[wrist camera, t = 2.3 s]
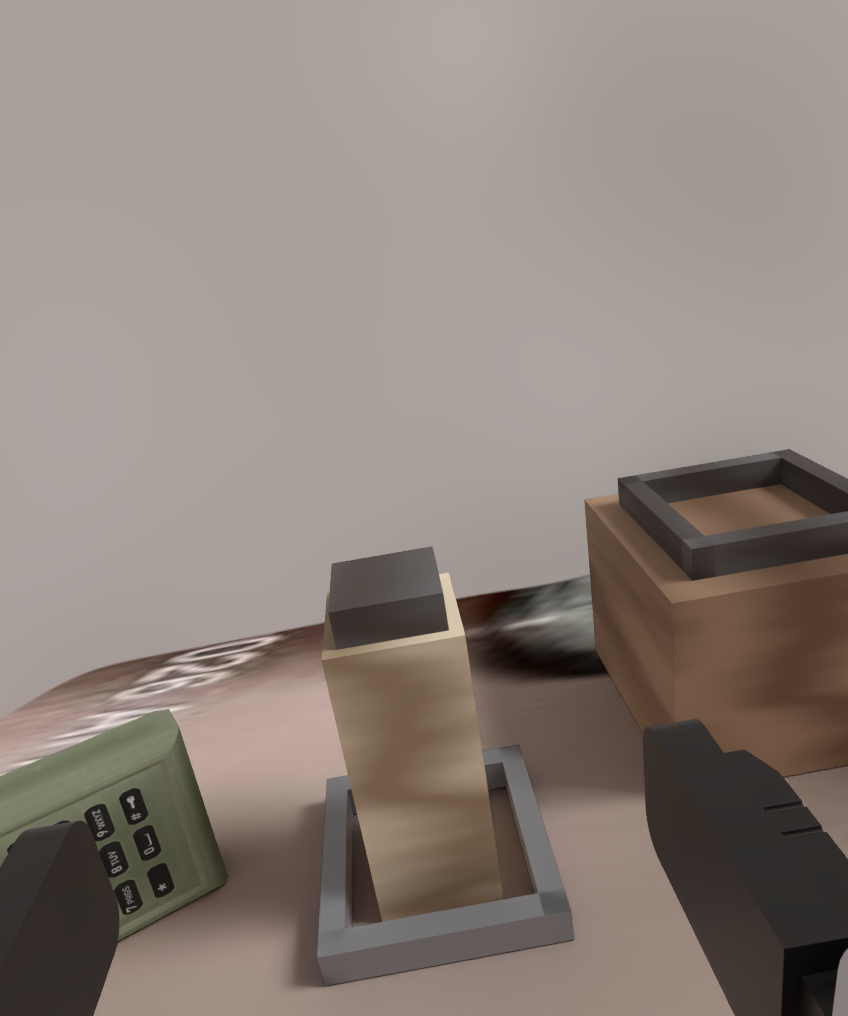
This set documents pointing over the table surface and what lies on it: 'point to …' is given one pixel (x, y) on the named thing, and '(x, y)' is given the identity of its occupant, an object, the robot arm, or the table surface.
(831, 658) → the walnut dock
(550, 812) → the table surface
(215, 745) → the table surface
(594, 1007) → the table surface
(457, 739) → the beech plug
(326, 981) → the low socket
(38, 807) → the handheld radio
